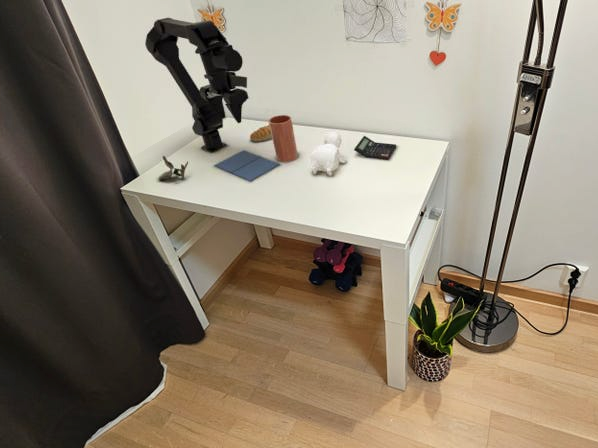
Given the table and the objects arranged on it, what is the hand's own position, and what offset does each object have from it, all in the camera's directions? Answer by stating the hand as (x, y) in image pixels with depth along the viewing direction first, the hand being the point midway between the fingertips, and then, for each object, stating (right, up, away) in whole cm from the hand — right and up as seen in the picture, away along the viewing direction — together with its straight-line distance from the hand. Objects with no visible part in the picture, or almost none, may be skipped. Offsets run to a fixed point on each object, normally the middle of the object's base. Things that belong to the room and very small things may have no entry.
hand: (231, 120), depth 126 cm
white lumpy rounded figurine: (+31, -14, 0) cm, 34 cm away
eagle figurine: (-18, -18, -1) cm, 25 cm away
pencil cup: (+16, -10, +6) cm, 20 cm away
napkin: (+4, -14, +3) cm, 15 cm away
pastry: (+6, -1, +19) cm, 20 cm away
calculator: (+46, -9, +6) cm, 47 cm away
